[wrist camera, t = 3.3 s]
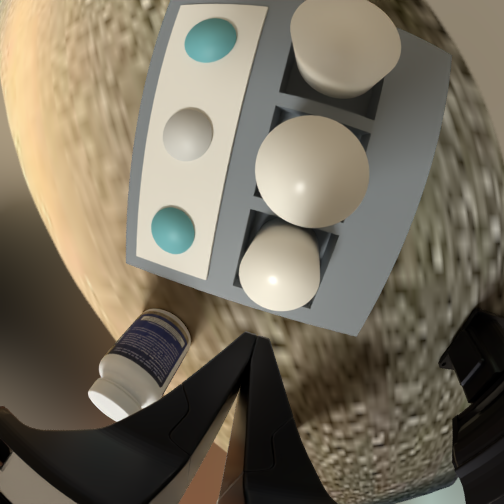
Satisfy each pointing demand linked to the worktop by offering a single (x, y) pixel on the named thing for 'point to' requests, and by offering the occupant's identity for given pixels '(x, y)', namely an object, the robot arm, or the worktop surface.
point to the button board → (247, 146)
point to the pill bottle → (140, 364)
